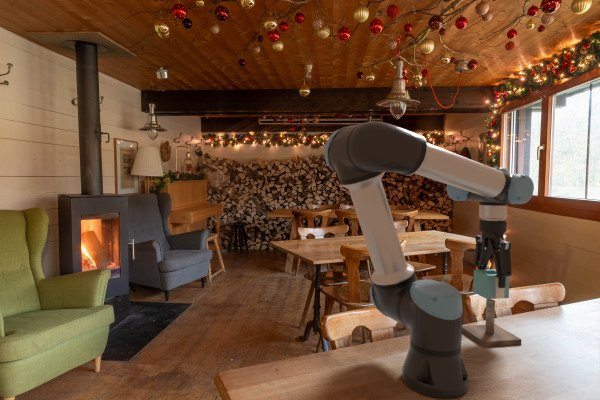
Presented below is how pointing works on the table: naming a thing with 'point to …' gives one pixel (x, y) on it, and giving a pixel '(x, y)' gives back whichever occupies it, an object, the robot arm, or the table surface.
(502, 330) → the stand
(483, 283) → the teal open box
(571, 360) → the table surface
